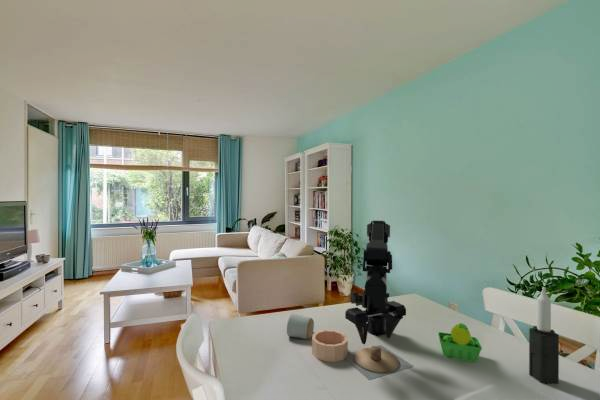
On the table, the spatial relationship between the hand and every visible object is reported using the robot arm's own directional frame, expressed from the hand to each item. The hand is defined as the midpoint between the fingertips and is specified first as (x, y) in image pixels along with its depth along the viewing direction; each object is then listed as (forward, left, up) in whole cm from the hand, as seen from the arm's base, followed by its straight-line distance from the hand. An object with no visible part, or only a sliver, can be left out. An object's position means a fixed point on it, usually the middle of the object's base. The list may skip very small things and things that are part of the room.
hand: (376, 340), depth 89 cm
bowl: (+10, -10, -6) cm, 15 cm away
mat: (0, 0, -6) cm, 6 cm away
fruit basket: (-26, +8, -7) cm, 28 cm away
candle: (-36, +26, -6) cm, 45 cm away
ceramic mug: (+13, -25, -7) cm, 29 cm away
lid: (0, 0, -6) cm, 6 cm away
